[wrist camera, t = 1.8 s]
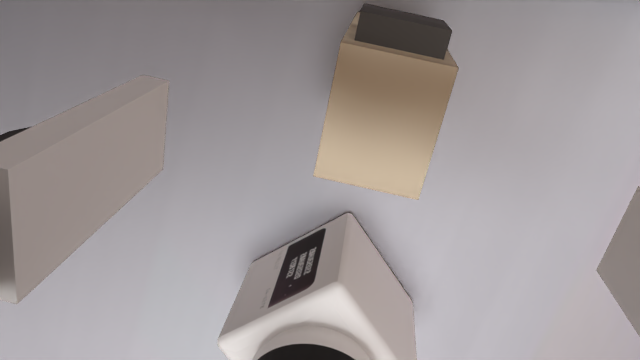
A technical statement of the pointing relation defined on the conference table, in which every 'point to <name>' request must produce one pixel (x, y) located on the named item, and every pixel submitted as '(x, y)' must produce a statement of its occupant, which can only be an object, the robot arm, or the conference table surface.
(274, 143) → the conference table surface
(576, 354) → the conference table surface
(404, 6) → the conference table surface
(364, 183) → the tan box
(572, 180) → the conference table surface
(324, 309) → the container
